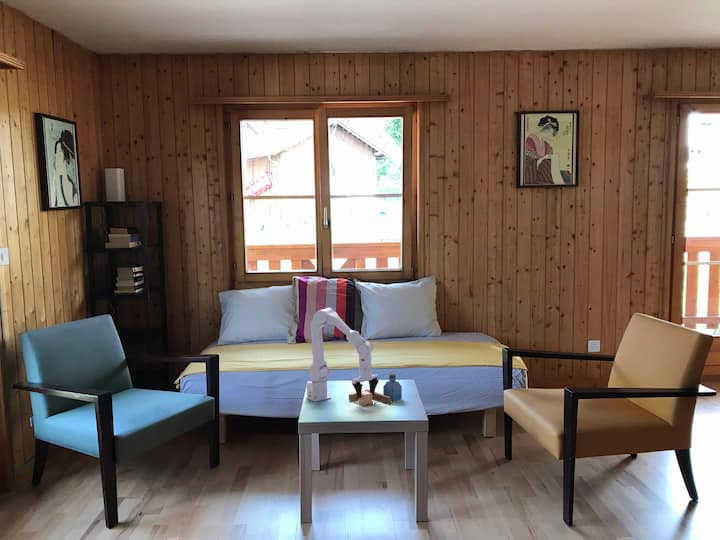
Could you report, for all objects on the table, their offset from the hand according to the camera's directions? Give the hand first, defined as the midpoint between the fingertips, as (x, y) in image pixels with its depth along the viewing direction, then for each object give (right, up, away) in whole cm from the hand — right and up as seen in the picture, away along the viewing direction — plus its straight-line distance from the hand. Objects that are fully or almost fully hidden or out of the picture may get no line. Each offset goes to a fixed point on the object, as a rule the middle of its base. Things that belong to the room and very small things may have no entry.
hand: (365, 396), depth 292 cm
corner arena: (+1, -3, +2) cm, 4 cm away
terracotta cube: (0, -3, 0) cm, 3 cm away
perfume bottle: (+13, -3, +6) cm, 14 cm away
